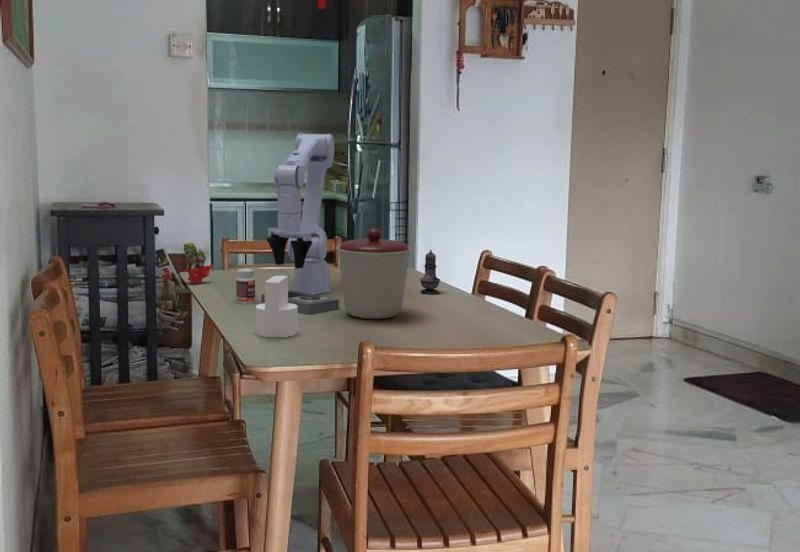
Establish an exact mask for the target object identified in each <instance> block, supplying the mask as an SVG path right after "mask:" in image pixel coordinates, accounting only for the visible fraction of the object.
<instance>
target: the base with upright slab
mask: <svg viewBox="0 0 800 552" xmlns="http://www.w3.org/2000/svg"><path fill="white" fill-rule="evenodd" d="M288 290H289V276H288V275H273V276H272V277H270V278H269V279H267V280H266V281H265V282H264V294H265V303H263V304H262V303H259V304H256V305H255V334H257V335H256V336H258V335H260V336H259V337H261V336H264V337H263V338H266V337H286V338H289V337H288V336H292V335H295V334H297V335H298V333H297V332H299V331H298V323H299V321H298V320H299V319H298V317H299V316H298V315H299V314H298V313H299V312H298V306H297V305H295V304H292V303H288ZM295 336H296V335H295ZM292 337H293V336H292Z"/></svg>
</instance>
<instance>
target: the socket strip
mask: <svg viewBox="0 0 800 552" xmlns="http://www.w3.org/2000/svg"><path fill="white" fill-rule="evenodd" d="M339 300H340V299H339V298H333V297H329V296H324V295H320V294H310V293H305V292H300V291H296V290H293V289H288V303H292V304H295V305H297V306H298V313H301V314H306V315H314V314H317V313H323V312H324V313H325V312H328V311H335V310H339V309H340V307H339V306H340V303H339V302H340V301H339ZM263 303H265V293H262V294H261V304H263Z"/></svg>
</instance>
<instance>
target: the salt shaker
mask: <svg viewBox="0 0 800 552" xmlns="http://www.w3.org/2000/svg"><path fill="white" fill-rule="evenodd" d="M432 251H433V250H432V249H430V250H429V252H428V253H426V254H425V257H424V258H425V264H424V265H423V267H424V275H423V277H420V278H419V281H420V285H421V287H422V288H424V289H421V290H420V292H419V293H422V294H427V295H431V294H432V295H436V294H439V293H440V291H439V290H438V289H436V288H438V287H439V285H440V282H441V279H440V278H438V277H437V273H436V270H437V267H438V265H436V264H437V263H436V261H437V259H436V258H437V257H436V256H437V255H436V254H435V253H433V252H432Z"/></svg>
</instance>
